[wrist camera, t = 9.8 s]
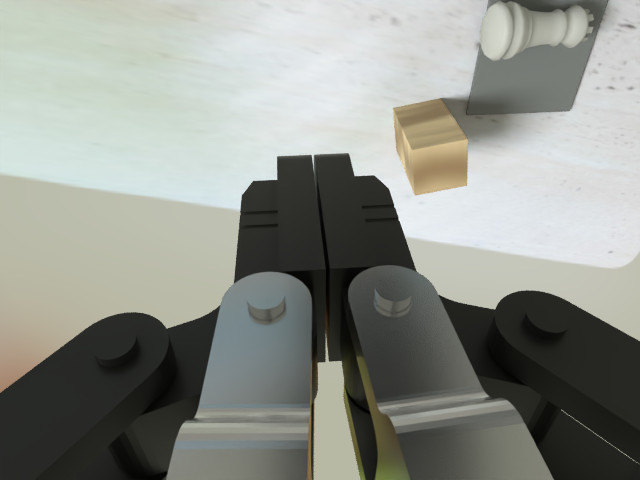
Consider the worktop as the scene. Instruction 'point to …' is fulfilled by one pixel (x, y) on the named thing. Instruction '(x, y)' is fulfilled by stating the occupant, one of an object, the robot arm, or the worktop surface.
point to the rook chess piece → (530, 29)
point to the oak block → (431, 146)
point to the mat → (534, 69)
